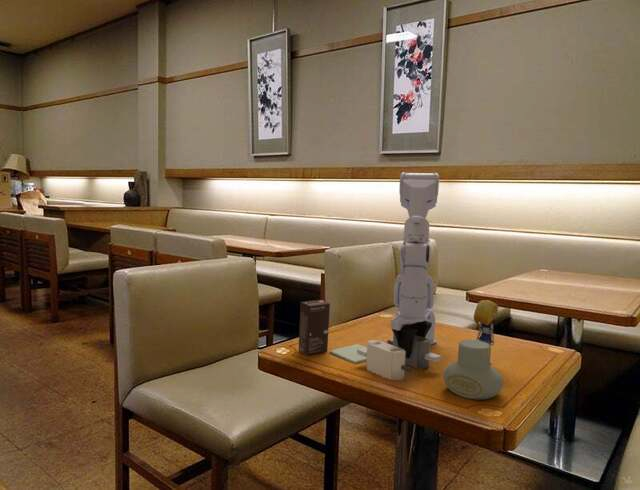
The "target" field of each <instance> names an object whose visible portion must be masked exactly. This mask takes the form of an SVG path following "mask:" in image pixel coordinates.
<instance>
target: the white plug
mask: <svg viewBox="0 0 640 490" xmlns="http://www.w3.org/2000/svg"><path fill="white" fill-rule="evenodd" d="M366 347H367V349H366V348H361V349H357V354H359V355H361V356H364V357H366V361H365V362H366V363H365V369H366V370H367V371H368V372H370V371H371V372H370V373H373V374H375V373H376V375H377V376H380V375H381V377H383V378H385V379H387V378H388V379H387V380H390V381H395V380H398V381H399V380H401V381H404V380H405V372H408V373H412V370H413V368H412V367H409V366H407V365H406V364H405V350H404V349H401V348H398V347H396V346H393V345H390V344H388V343H387V342H384V341H381V340H376V339H372V340H371V339H370V340H368V341H366ZM391 379H392V380H391ZM403 379H404V380H403ZM398 381H397V382H398ZM399 382H400V381H399Z"/></svg>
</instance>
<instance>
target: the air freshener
mask: <svg viewBox="0 0 640 490" xmlns="http://www.w3.org/2000/svg"><path fill="white" fill-rule="evenodd" d="M491 352H492V345H491V346H490V345H489V344H487V343H485V342H482V341H480V340H479V339H478V340H476V339H464V340H461V341H460V342H459V343H458V351H457V354H458V355H457V361H453V362H452V363H450V364H449V365H448V366H447V367H446V368H445V369H444V372H443V381H444V384H445V385H446V387H447V388H448V390H450V391H451V392H452V393H453V394H455V395H457V396H459V397H462V398H465V399H469V400H475V401H476V400H477V401H480V400H481V401H483V400H488V399H491V398H493V397H495V396H497V395H499V393H500V392H501V391H502V389H503V386H504V380H503V377H502V375H501V374H500V372H499V371H498V370H497V369H496V368H495V367H494V366H492V365H490V363H491Z"/></svg>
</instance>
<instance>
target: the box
mask: <svg viewBox="0 0 640 490" xmlns="http://www.w3.org/2000/svg"><path fill="white" fill-rule="evenodd" d="M330 308H331V304H330V303H329V302H327V301H325V300H322V299H316V300H308V301H307V300H306V301H301V302H300V307H299V309H300V311H299V330H298V333H299V334H298V351H299V352H301V353H302V354H304V355H306V356H309V355H313V354H319V353H325V352H328V343H329V327H330Z"/></svg>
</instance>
